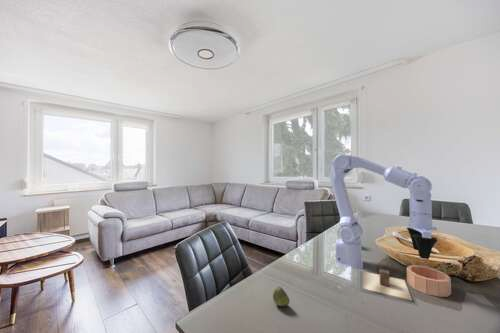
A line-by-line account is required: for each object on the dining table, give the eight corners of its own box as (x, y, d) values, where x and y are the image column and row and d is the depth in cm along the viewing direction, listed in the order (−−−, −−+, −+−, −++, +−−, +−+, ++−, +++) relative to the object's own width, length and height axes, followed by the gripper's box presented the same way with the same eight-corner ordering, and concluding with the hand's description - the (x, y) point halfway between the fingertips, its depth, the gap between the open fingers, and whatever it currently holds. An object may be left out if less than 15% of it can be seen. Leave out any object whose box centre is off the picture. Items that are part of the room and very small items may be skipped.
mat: (359, 292, 62) (359, 291, 62) (359, 272, 74) (359, 271, 74) (417, 307, 55) (417, 305, 55) (407, 282, 67) (407, 281, 67)
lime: (274, 298, 59) (274, 281, 59) (291, 302, 57) (291, 284, 58) (270, 308, 55) (270, 289, 55) (288, 312, 53) (288, 293, 53)
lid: (363, 290, 62) (362, 275, 62) (362, 273, 73) (362, 260, 73) (412, 302, 57) (412, 285, 57) (404, 281, 67) (404, 267, 67)
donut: (354, 247, 99) (354, 226, 99) (349, 248, 98) (348, 227, 98) (340, 240, 108) (340, 222, 108) (335, 241, 107) (334, 222, 108)
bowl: (411, 292, 62) (410, 276, 62) (404, 277, 71) (404, 262, 71) (456, 302, 57) (456, 284, 57) (443, 285, 66) (443, 269, 66)
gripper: (444, 218, 59) (445, 265, 59) (429, 210, 72) (429, 248, 72) (414, 216, 63) (414, 260, 62) (404, 208, 75) (405, 245, 75)
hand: (420, 253), depth 67 cm, fingers open, 7 cm apart
